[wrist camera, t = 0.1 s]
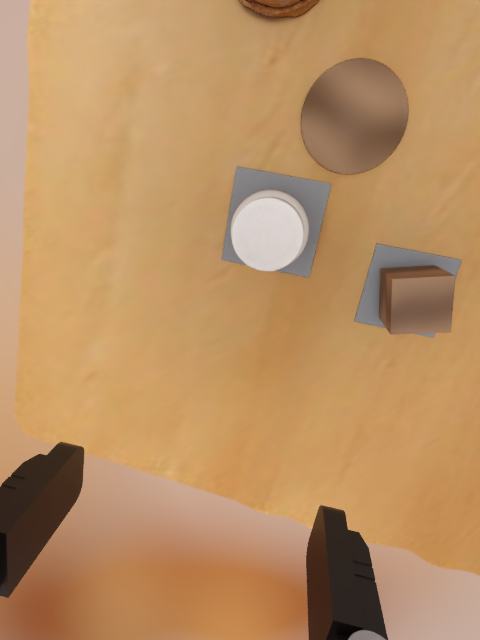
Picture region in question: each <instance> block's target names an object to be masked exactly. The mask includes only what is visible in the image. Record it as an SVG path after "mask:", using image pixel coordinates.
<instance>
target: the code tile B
mask: <svg viewBox="0 0 480 640" xmlns="http://www.w3.org/2000/svg"><path fill="white" fill-rule="evenodd" d="M461 261H462V260H459V259H454V258H449V257H444V256H439V255H433V254H428V253H423V252H418V251H413V250H408V249H402V248H397V247H392V246H387V245H382V244H377V245H376V248H375V251H374V255H373V258H372V262H371V265H370V269H369V272H368V276H367V279H366V282H365V286H364V289H363V293H362V296H361V300H360V303H359V307H358V310H357V313H356V317H355V320H354V321H355V322H359V323H364V324H369V325H374V326H379V327H384V328H386V327H385V326H384V324H383V323H382V321H381V320H380V318H379V292H380V268H396V267H413V266H430V265H435V266H437V267H439V268H441V269H443V270H445V271H447V272H449V273H451V274H453V275H455V278H456V275H457V272H458V270H459V267H460V264H461ZM417 335H422V336H427V337H432V338H434V335H435V333H419V334H417Z"/></svg>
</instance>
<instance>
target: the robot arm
mask: <svg viewBox="0 0 480 640" xmlns="http://www.w3.org/2000/svg"><path fill="white" fill-rule="evenodd" d="M83 464H84V448H83V447H81V446H76V445H72V444H68V443H64V442H60V443H58V444H57V445H56V446H55V447H54V448H53V449H52V450H51V451H50V453H49V454H48V455H42V454H38V455H36V456H35V457H33V458H31V459H29V460H27V461H25V462H24V463H23V464H22V465H21V466H19V468H17V470H15V472H13V473H12V475H11V477H8V479H6V480H5V481H4V482H3V483H2V485H1V487H0V596H4V597H7V598H9V596H10V594H11V593H12V592H13V590H14V589H15V587H16V586H17V585H18V583H19V582H20V580H21V579H22V577H23V576H24V575H25V573H26V572H27V570H28V569H29V568H30V566H31V565H32V563H33V562H34V561H35V559H36V558H37V556H38V554H39V553H40V552H41V551H42V549H43V548H44V546H45V545H46V543H47V542H48V540H49V539H50V538H51V536H52V535H53V533H54V532H55V531H56V529H57V528H58V526H59V525H60V524H61V522H62V521H63V519H64V518H65V517H66V515H67V514H68V512H69V511H70V509H71V508H72V506H73V505H74V504H75V502H76V500H77V498H78V496H79V494H80V491H81V488H82V483H83ZM306 568H307V598H308V627H309V640H388V638H387V634H386V629H385V624H384V619H383V614H382V610H381V605H380V601H379V596H378V591H377V586H376V583H375V577H374V572H373V568H372V563H371V558H370V553H369V548H368V547H367V545H366V543H365V542H364V540H363V538H362V537H361V535H360V533H359V532H355V531H351V530H348V528H347V522H346V516H345V512H344V511H343V510H339V509H335V508H331V507H327V506H322V505H321V506H320V507H319V509H318V512H317V515H316V519H315V522H314V525H313V528H312V532H311V535H310V538H309V542H308V547H307V556H306Z"/></svg>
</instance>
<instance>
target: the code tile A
mask: <svg viewBox="0 0 480 640" xmlns="http://www.w3.org/2000/svg"><path fill="white" fill-rule="evenodd" d="M330 188H331V184H329V183H324V182H319V181H313V180H308V179H302V178H297V177H291V176H286V175H281V174H275V173H270V172H264V171H259V170H254V169H248V168H243V167H237V168H236V174H235V180H234V186H233V192H232V199H231V205H230V211H229V217H228V223H227V229H226V236H225V242H224V248H223V254H222V260H224V261H229V262H234V263H239V264H244V265H246V264H245V263H244V262H243V261H242V260H241V259H240V258H239V257H238V255H237V254H236V252H235V250H234V247H233V244H232V239H231V222H232V218H233V216H234V213H235V211H236V210H237V208H238V207H239V205H240V204H241V203H242V202H243V201H244V200H245V199H246V198H247V197H249V196H250V195H252V194H254V193H256V192H258V191H263V190H278V191H282V192H285V193H287V194H289V195H291V196H293V197H294V198H295V199H296V200H297V201H298V202H299V203H300V204H301V206H302V207H303V208H304V211H305V213H306V215H307V218H308V222H309V235H308V240H307V243H306V246H305V248H304V250H303V251H302V253H301V254H300V255H299V257H298V258H297V259H296V260H294V261H293V262H292V263H290V264H289V265H287V266H285V267H283V268H281V269H279V270H275V271H278V272H283V273H288V274H293V275H298V276H303V277H308V278H309V276H310V271H311V267H312V263H313V259H314V255H315V251H316V247H317V242H318V238H319V234H320V230H321V226H322V222H323V217H324V213H325V209H326V205H327V201H328V197H329V192H330Z"/></svg>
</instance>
